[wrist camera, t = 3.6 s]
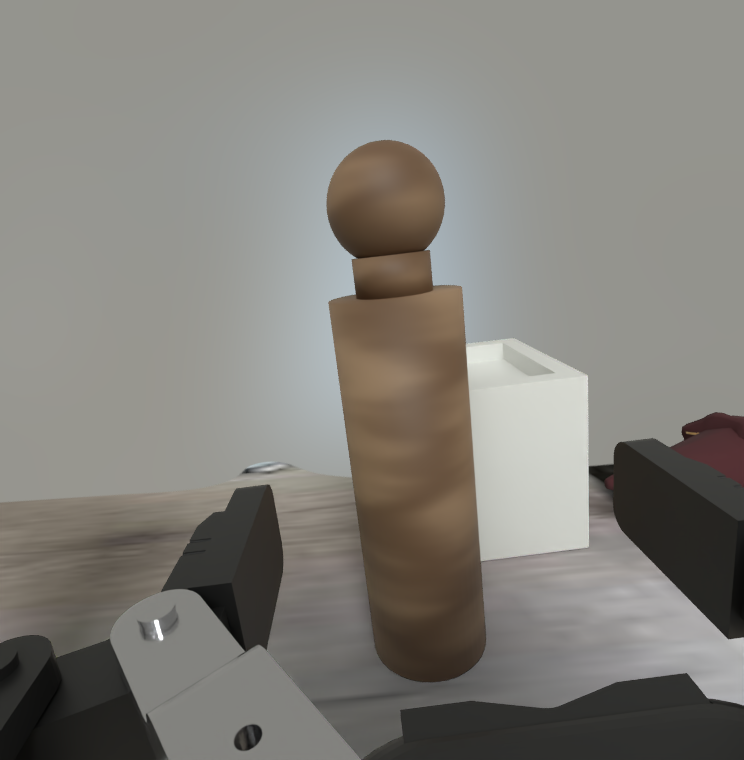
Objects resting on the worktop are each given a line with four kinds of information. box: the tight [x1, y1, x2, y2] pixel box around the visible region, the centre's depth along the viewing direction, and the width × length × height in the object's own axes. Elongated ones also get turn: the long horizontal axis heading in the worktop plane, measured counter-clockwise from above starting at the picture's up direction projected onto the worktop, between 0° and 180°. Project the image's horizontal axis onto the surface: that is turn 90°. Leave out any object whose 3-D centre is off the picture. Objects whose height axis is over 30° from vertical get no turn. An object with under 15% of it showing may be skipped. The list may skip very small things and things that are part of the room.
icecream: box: [605, 412, 744, 490], centre depth 28 cm, size 7×8×15 cm
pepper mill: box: [327, 140, 486, 682], centre depth 21 cm, size 5×5×22 cm
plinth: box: [466, 338, 589, 561], centre depth 33 cm, size 12×12×10 cm
